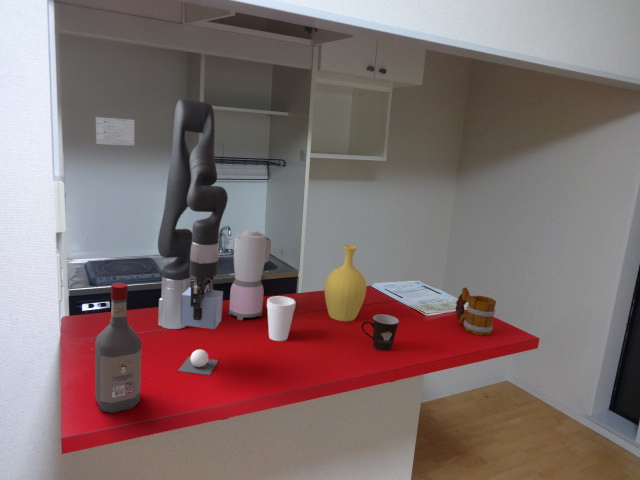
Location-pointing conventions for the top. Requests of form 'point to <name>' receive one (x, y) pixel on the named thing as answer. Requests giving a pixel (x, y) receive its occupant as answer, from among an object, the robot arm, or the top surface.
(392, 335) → the coffee mug
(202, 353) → the ball
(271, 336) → the foam cup
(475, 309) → the mug
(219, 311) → the periwinkle rectangular block
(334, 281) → the vase
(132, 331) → the liquor
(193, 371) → the tape square
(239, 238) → the blender
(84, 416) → the top surface
